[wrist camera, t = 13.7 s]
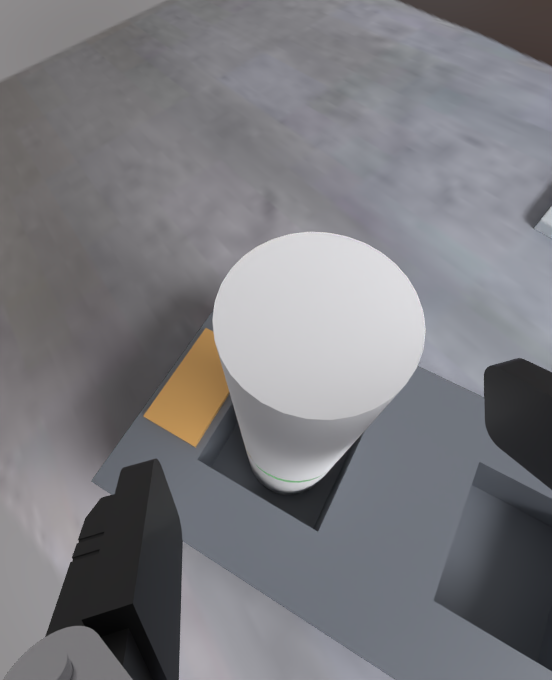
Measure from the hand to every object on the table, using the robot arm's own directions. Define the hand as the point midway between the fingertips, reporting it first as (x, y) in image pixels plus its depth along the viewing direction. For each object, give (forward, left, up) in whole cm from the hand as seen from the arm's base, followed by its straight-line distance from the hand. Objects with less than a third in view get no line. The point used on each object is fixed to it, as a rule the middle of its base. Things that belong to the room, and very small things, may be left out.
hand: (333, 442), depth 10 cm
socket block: (-2, +4, -13) cm, 14 cm away
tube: (-2, -2, -13) cm, 13 cm away
